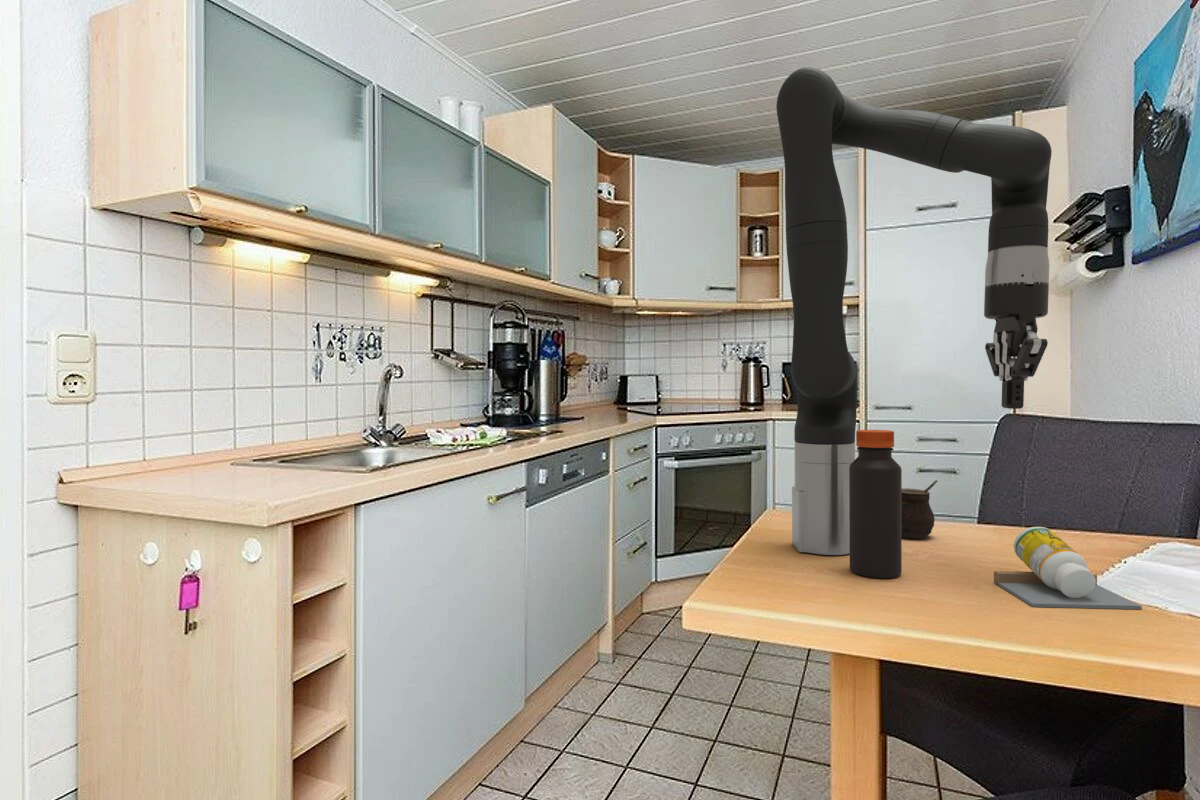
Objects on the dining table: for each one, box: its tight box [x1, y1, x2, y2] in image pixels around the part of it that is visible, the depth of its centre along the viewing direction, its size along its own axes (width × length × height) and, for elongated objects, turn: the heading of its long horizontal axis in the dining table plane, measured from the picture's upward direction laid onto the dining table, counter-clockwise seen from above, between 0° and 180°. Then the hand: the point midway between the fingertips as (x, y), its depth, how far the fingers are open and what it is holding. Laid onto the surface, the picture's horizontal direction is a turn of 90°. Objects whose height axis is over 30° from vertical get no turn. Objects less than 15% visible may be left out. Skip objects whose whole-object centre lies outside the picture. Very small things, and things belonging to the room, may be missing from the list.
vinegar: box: [849, 429, 903, 580], centre depth 93 cm, size 7×7×20 cm
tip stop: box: [993, 570, 1143, 610], centre depth 82 cm, size 12×9×2 cm
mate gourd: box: [902, 479, 938, 540], centre depth 115 cm, size 7×8×10 cm
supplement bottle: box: [1013, 526, 1096, 598], centre depth 84 cm, size 5×5×10 cm
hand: (1012, 408), depth 92 cm, fingers closed
